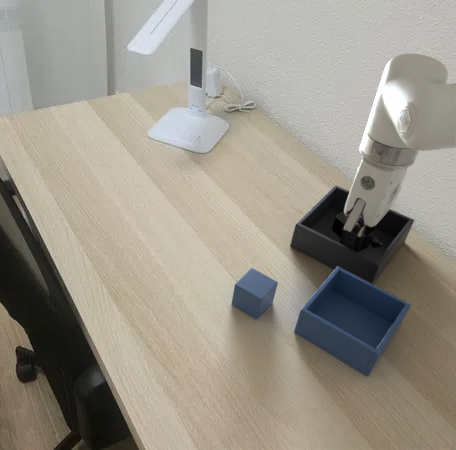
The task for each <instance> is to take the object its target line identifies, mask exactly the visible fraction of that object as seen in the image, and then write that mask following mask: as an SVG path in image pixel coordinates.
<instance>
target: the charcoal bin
mask: <svg viewBox="0 0 456 450" xmlns="http://www.w3.org/2000/svg"><path fill="white" fill-rule="evenodd" d="M349 192H350V190H348V189H346V188H344V187H341V186H338V185H336V184H335V185H334V186H332V188H331V189H330V190H328V191H327V192H326V194H324V195H323V196H322V197H321V199H319V200H318V201H317V202H316V203H315V205H313V206H312V207H311V208H310V209H309V210H308V212H307V213H305V214H304V215H303V216H302V217H301V218H300V219H299V220H298V221H297V222H296V223H295V225H294V230H293V233H292V237H291V240H290V244H289V247H290V248H292V249H294V250H296V251H298V252H300V253H302V254H304V255H306V256H308V257H309V258H312V259H313V260H316V261H317V262H319V263H321V264H323V265H325V266H326V267H328V268H330V269H332V270H333V271H334V270H335V269H336V268H337V266H338V267H340V268H342V269H344V270H346V271H348V272H350V273H352V274H354V275H356V276H358V277H360V278H362V279H363V280H365V281H367V282H369V283H371V284H373V285H375V282H376V281H377V280H378V279H379V277H380V276H381V275H382V273H383V271H384V270H385V269H386V268H387V266H388V265H389V264H390V263H391V261H392V260H393V259H394V257H395V256H396V254H397V253H398V252H399V250H400V249H401V248H402V247H403V245H404V244H405V242H406V240H407V238H408V236H409V233H410V232H411V230H412V226H413V225H414V222H415V219H413V218H411V217H409V216H408V215H404V214H402V213H400V212H398V211H395V210H393V209H392V208H390V210H389V211H388V212H387V213H386V214H385V216H384V217H383V218H382V219H381V220H380V221H379V222H378V224H377V226H376V228H375V231H374V234H373V236H374V237H376V238H377V240H378V241H379V242H380V243H381V244H382V247H380V248H378V247H376V248H372V246H371V244H369V247H368V248H367V249H365V250H363V251H360V252H359V253H358V252H356V251H354V250H352V249H350V248H348V247H346V246H344V245H342V244H340V243H339V242H340V239H341V238H339V237H338V236H337V235H336V234H335V233H334V232H333V231H332V226H333V223H334V220H335V217H336V215H337V214H340V213H343V212H344V209H345V205H346V201H347V198H348V195H349Z"/></svg>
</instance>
